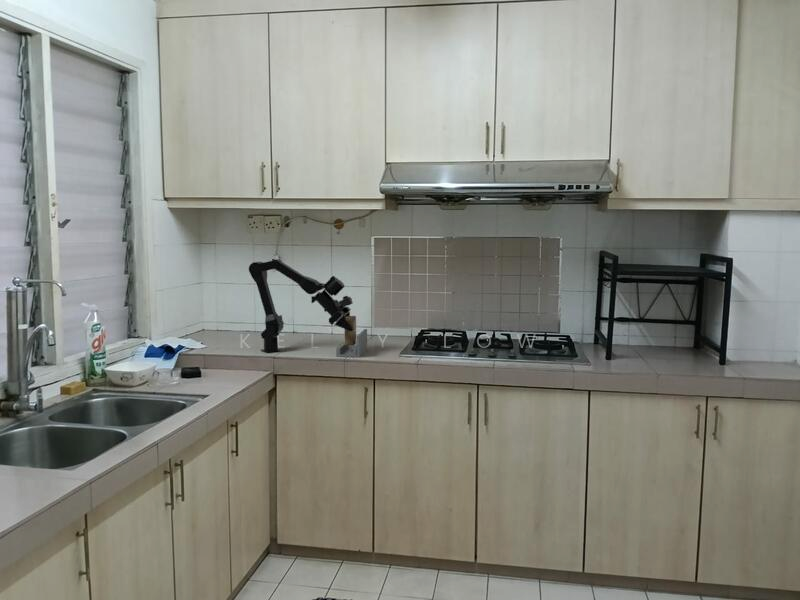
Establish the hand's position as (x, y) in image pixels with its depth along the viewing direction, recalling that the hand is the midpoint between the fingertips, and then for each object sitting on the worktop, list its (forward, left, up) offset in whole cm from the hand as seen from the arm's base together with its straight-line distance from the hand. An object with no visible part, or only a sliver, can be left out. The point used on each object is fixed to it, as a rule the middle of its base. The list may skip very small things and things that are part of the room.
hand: (353, 329), depth 273 cm
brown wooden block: (-1, -1, -7) cm, 7 cm away
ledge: (-1, -1, -10) cm, 10 cm away
